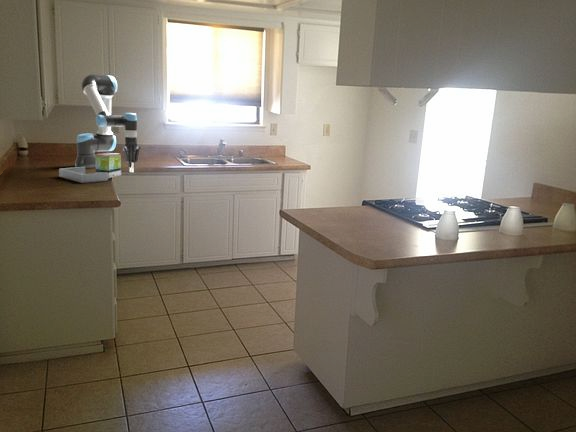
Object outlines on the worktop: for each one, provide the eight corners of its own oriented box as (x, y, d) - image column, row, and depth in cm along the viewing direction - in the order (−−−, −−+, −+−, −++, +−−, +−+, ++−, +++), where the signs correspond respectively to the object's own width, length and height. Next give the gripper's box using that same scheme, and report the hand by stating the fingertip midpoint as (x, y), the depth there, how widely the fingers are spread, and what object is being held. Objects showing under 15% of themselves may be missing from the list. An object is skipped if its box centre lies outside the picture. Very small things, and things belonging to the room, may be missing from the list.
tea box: (109, 178, 332) (109, 155, 329) (95, 177, 334) (94, 154, 331) (121, 175, 346) (121, 153, 343) (107, 174, 348) (107, 152, 345)
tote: (84, 174, 343) (84, 166, 342) (108, 180, 324) (107, 172, 323) (59, 176, 330) (58, 168, 329) (82, 183, 312) (82, 174, 311)
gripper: (136, 136, 354) (137, 170, 360) (119, 136, 345) (120, 172, 350) (142, 137, 350) (143, 172, 355) (125, 137, 340) (126, 173, 345)
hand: (131, 172), depth 352 cm, fingers closed
